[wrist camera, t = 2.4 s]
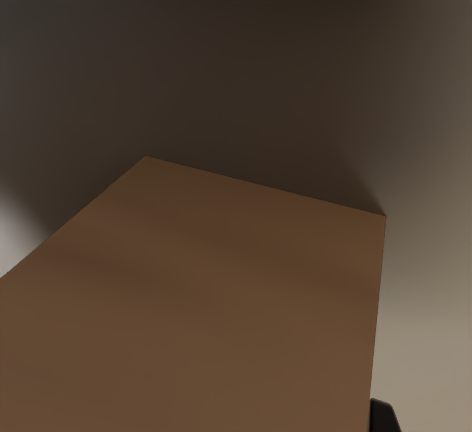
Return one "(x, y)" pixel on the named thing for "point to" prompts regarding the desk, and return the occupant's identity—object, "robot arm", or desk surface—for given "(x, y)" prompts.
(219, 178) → the walnut block
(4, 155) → the desk surface
